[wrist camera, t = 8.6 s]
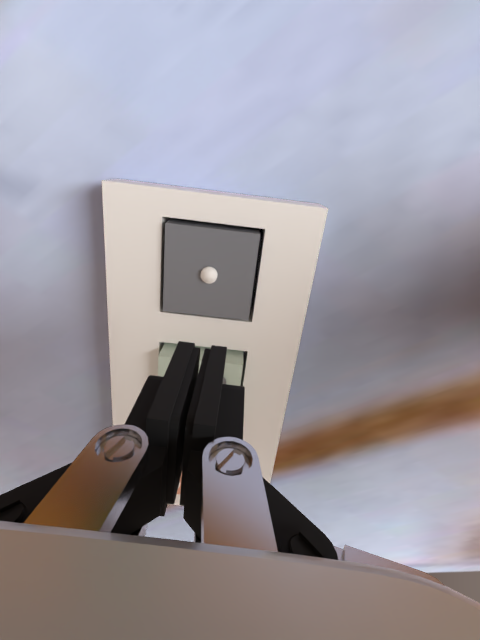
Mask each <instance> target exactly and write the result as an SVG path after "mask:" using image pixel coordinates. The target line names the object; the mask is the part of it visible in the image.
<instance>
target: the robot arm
mask: <svg viewBox="0 0 480 640" xmlns="http://www.w3.org/2000/svg"><path fill="white" fill-rule="evenodd" d="M226 352H227V347H223V346H215V345H212V346H211V349H206V348H205V350H204V354H203V358H202V362H201V365H200V369H199V360H200V348H198V347H195V343H191V342H183V341H179V342H178V344H177V346H176V349H175V351H174V353H173V356H172V358H171V361H170V363H169V365H168V368H167V370H166V372H165V375H164V377H162V376H154V375H150V376H148V378H147V380H146V382H145V384H144V386H143V388H142V390H141V392H140V394H139V396H138V398H137V400H136V402H135V404H134V406H133V408H132V410H131V412H130V414H129V416H128V418H127V420H126V422H125V424H123V425H114V426H111V427H108V428H106V429H104V430H102V431H100V432H99V433H97V434H96V435H95V436H94V437H93V438H92V439H91V441H90V442H89V443H88V444H87V446H86V447H85V448H84V449H83V450H82V452H81V453H80V454H79V455H78V457H77V458H76V459H75V460H74V461H73V462H72V463H70V464H68V465H66V466H64V467H61V468H59V469H57V470H55V471H53V472H50V473H48V474H46V475H44V476H42V477H39V478H37V479H35V480H33V481H31V482H28V483H26V484H24V485H22V486H20V487H17V488H15V489H13V490H11V491H9V492H6V493H4V494H2V495H0V640H480V603H478V602H476V601H475V600H473V599H471V598H469V597H467V596H465V595H463V594H461V593H458V592H456V591H455V590H452V589H451V588H449V587H447V586H445V585H444V584H442V583H441V582H440V581H439V580H438V579H437V578H435V577H433V576H431V575H429V574H427V573H425V572H422V571H419V570H417V569H414V568H411V567H408V566H405V565H402V564H399V563H396V562H393V561H391V560H388V559H385V558H382V557H379V556H376V555H373V554H370V553H367V552H364V551H362V550H359V549H356V548H353V547H350V546H347V545H345V546H344V549H341V548H338V547H335V546H333V544H332V542H331V541H330V540H329V539H328V538H327V537H326V535H325V534H324V533H323V532H322V531H321V530H319V529H318V528H317V527H316V526H315V525H314V524H313V523H312V522H311V521H310V520H309V519H308V518H306V517H305V516H304V515H303V514H302V513H301V512H300V511H299V510H298V509H297V508H296V507H295V506H293V505H292V504H291V503H290V502H289V501H288V500H287V499H286V498H285V497H284V496H283V495H282V494H281V493H279V492H278V491H277V490H276V489H275V488H274V487H273V486H272V485H271V484H270V483H269V482H268V481H266V480H265V479H264V478H263V477H262V472H261V468H260V463H259V458H258V455H257V453H256V450H255V449H254V448H253V447H252V446H251V445H250V444H249V443H247V442H246V441H244V440H243V423H244V396H245V387H244V386H236V385H228V384H223V377H224V369H225V360H226ZM198 372H199V373H198ZM181 473H182V478H181V492H180V505H183V506H184V517H183V518H184V519H185V521H186V522H187V523H188V525H189V526H190V527H191V528H192V530H193V531H194V532H195V533H194V542H187V541H179V540H170V539H161V538H152V537H144V536H145V533H146V530H147V523H149V522H150V521H152V520H153V519H155V518H156V517H158V516H164V515H165V511H166V507H167V504H174V503H175V499H176V495H177V490H178V486H179V482H180V477H181Z"/></svg>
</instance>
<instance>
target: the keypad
mask: <svg viewBox="0 0 480 640" xmlns="http://www.w3.org/2000/svg"><path fill="white" fill-rule="evenodd" d="M102 197H103V219H104V242H105V264H106V286H107V308H108V330H109V353H110V375H111V397H112V419H113V426H114V425H123V424H125V422H126V420H127V418H128V416H129V414H130V412H131V410H132V408H133V406H134V404H135V402H136V400H137V398H138V396H139V394H140V392H141V390H142V388H143V386H144V384H145V382H146V380H147V378H148V376H150V375H154V376H158V356H159V354H160V352H161V349H162V347H163V345H164V343H165V342H166V343H175V344H178V342H179V341H183V342H191V343H195V346H202V347H211V346H212V345H215V346H223V347H227V349H230V350H239V351H245V356H244V363H243V370H242V377H241V385H240V386H244V387H245V396H244V423H243V440H244V441H246V442H247V443H249V444H250V445H251V446H252V447H253V448H254V449H255V450H256V453H257V455H258V458H259V463H260V468H261V472H262V477H263V478H264V479H265V480H266V481H268V482H269V483H270V481H271V476H272V472H273V467H274V462H275V458H276V453H277V448H278V443H279V439H280V434H281V429H282V425H283V420H284V415H285V410H286V406H287V401H288V396H289V392H290V387H291V382H292V377H293V373H294V368H295V363H296V359H297V354H298V349H299V344H300V340H301V335H302V330H303V326H304V321H305V316H306V311H307V307H308V302H309V297H310V293H311V288H312V283H313V278H314V274H315V269H316V264H317V260H318V255H319V250H320V245H321V241H322V236H323V231H324V227H325V222H326V217H327V212H328V208H326V207H324V206H322V205H321V204H318V203H310V202H302V201H293V200H285V199H277V198H269V197H261V196H253V195H245V194H237V193H229V192H221V191H213V190H205V189H197V188H189V187H181V186H173V185H165V184H157V183H149V182H141V181H133V180H125V179H110V180H102ZM171 218H178V219H187V220H195V221H203V222H211V223H220V224H228V225H236V226H244V227H252V228H261V229H262V234H261V242H260V249H259V256H258V263H257V270H256V277H255V284H254V292H253V299H252V306H251V307H250V313H249V320H240V319H231V318H222V317H213V316H204V315H195V314H186V313H177V312H169V311H163V288H164V250H165V223H166V222H167V221H169V220H170V219H171ZM170 505H180V494H177V495H176V499H175V503H174V504H170ZM181 506H183V505H181Z"/></svg>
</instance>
